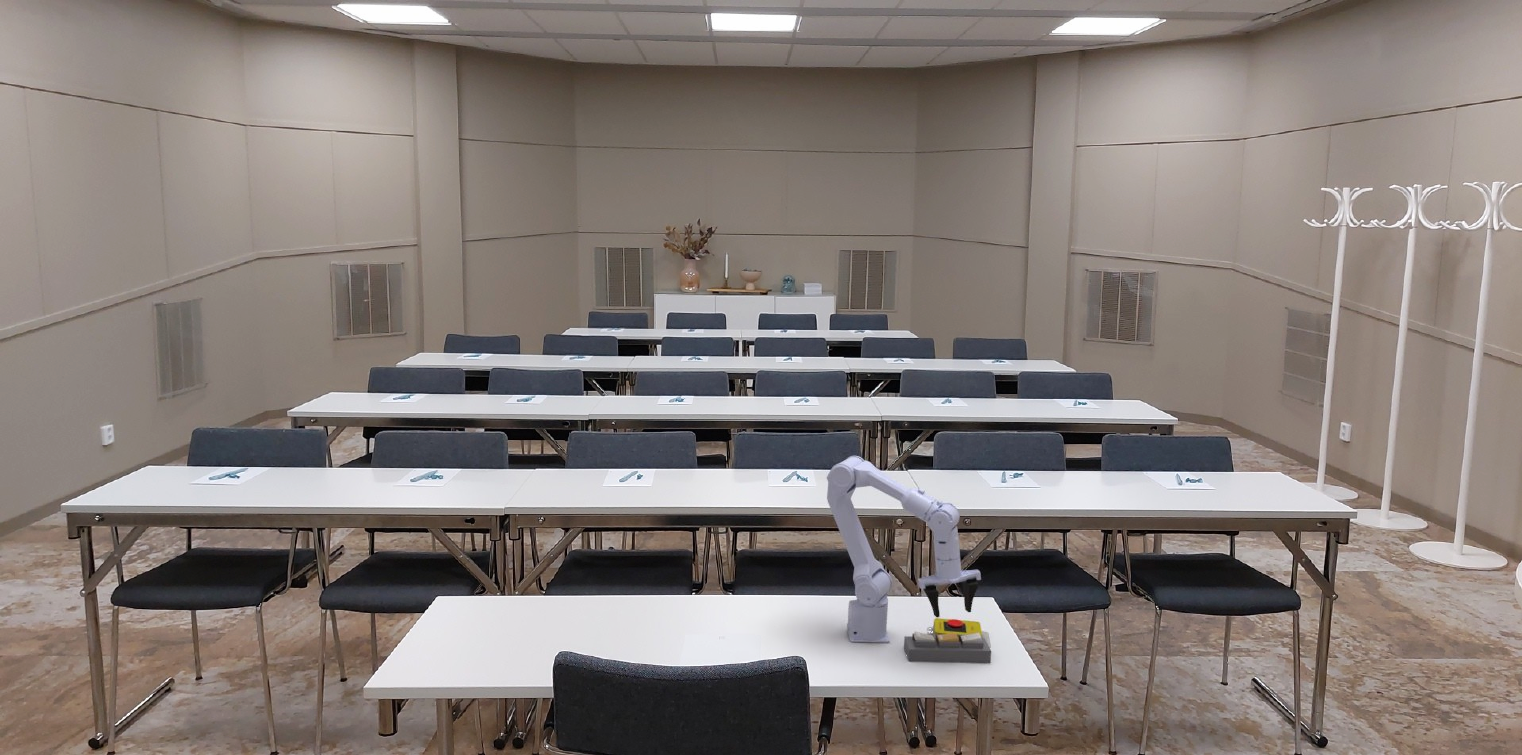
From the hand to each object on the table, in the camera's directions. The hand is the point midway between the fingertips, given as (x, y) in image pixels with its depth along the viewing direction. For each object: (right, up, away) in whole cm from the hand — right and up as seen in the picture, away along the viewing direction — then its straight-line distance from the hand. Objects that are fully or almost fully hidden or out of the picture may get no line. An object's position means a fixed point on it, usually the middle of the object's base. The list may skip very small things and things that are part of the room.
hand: (952, 613), depth 248 cm
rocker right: (+4, -6, +1) cm, 8 cm away
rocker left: (-7, -6, 0) cm, 9 cm away
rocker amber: (-1, -6, 0) cm, 6 cm away
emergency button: (+4, -9, +12) cm, 15 cm away
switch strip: (-1, -10, +1) cm, 10 cm away
